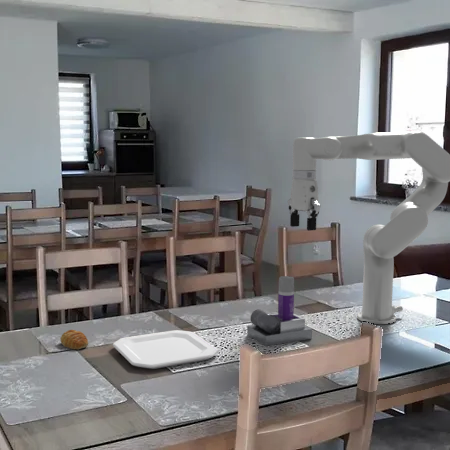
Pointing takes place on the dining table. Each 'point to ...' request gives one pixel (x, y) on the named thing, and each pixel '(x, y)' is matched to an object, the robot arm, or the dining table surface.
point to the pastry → (74, 339)
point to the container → (286, 298)
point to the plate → (164, 349)
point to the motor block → (277, 329)
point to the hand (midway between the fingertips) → (302, 228)
